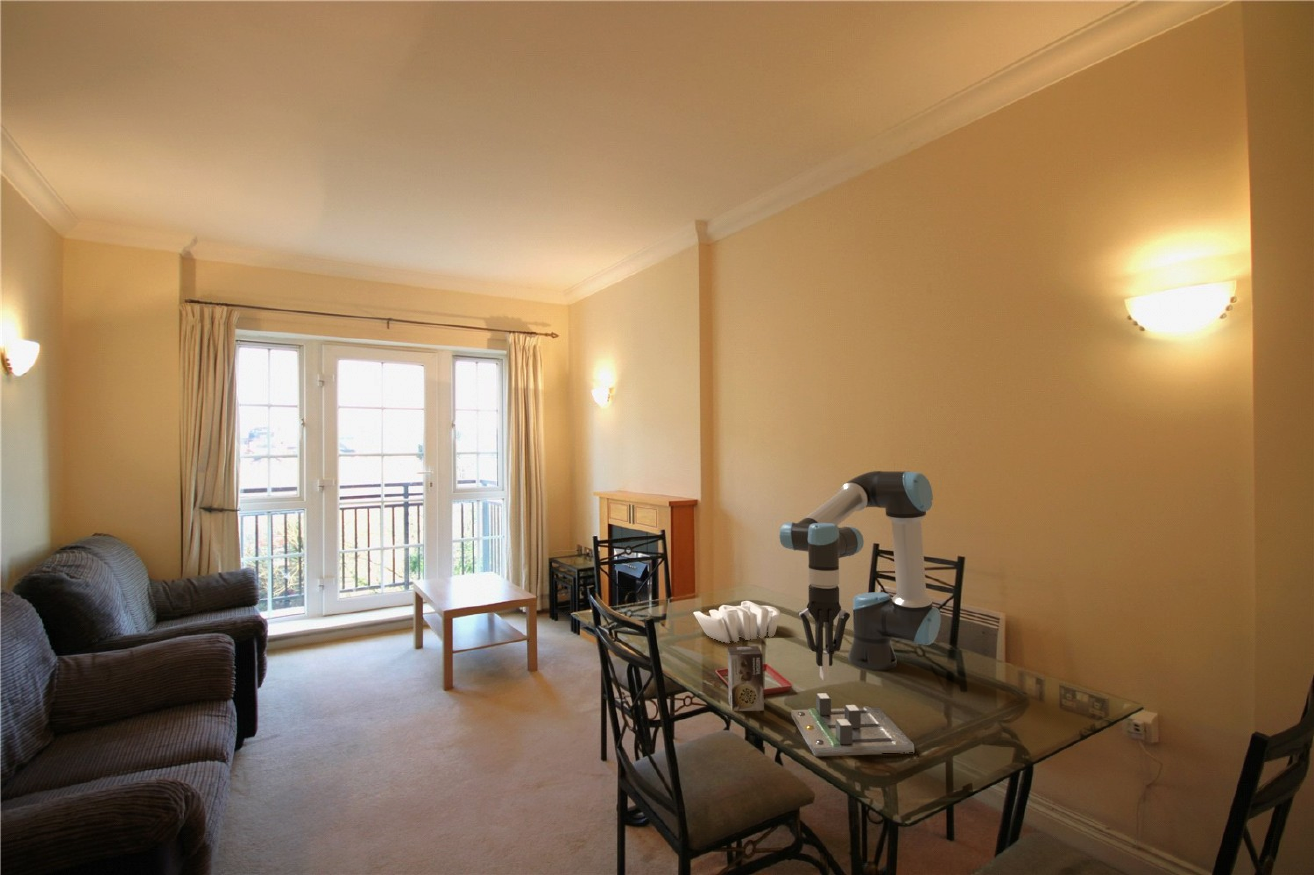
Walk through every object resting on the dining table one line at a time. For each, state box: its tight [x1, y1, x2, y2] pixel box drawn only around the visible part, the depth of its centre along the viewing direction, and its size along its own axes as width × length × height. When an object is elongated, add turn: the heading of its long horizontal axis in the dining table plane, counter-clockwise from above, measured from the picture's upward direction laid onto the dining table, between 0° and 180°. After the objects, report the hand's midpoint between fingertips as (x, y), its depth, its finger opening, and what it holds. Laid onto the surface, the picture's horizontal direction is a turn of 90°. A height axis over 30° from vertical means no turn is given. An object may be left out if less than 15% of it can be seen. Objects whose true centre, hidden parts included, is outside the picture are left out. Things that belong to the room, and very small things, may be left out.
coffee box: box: [727, 645, 765, 712], centre depth 166 cm, size 9×6×16 cm
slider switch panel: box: [790, 705, 915, 757], centre depth 150 cm, size 24×20×3 cm
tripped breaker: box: [844, 704, 861, 728], centre depth 150 cm, size 3×3×4 cm
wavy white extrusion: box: [692, 600, 782, 644], centre depth 230 cm, size 35×16×11 cm, turn 108°
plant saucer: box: [715, 663, 794, 695], centre depth 180 cm, size 18×18×3 cm
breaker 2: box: [836, 719, 853, 744], centre depth 142 cm, size 3×3×4 cm
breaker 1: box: [815, 692, 832, 715], centre depth 157 cm, size 3×3×4 cm
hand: (824, 678), depth 150 cm, fingers closed
